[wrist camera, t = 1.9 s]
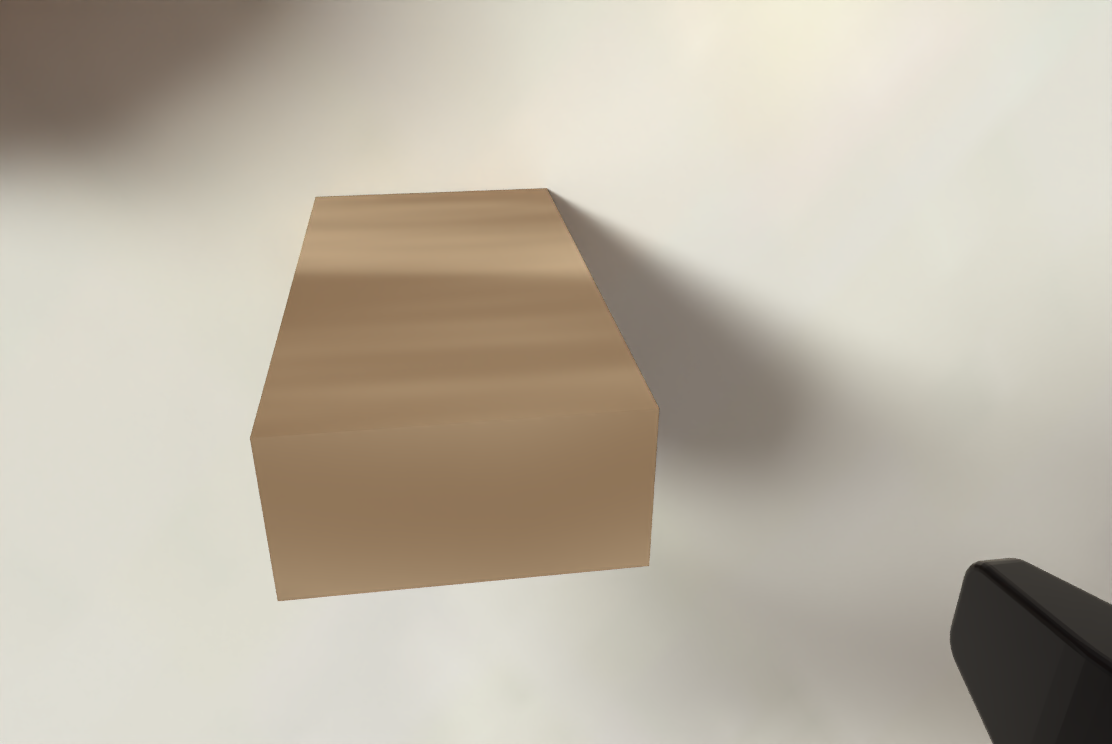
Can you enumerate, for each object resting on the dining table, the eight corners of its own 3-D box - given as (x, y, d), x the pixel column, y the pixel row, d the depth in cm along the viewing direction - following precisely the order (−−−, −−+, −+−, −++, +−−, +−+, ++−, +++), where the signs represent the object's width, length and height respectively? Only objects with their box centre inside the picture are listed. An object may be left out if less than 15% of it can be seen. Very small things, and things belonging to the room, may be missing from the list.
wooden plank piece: (546, 292, 17) (648, 565, 10) (327, 305, 17) (278, 601, 10) (546, 188, 16) (658, 408, 9) (315, 197, 16) (250, 438, 9)
